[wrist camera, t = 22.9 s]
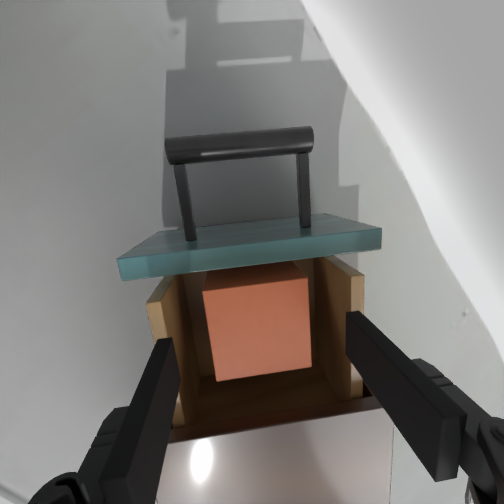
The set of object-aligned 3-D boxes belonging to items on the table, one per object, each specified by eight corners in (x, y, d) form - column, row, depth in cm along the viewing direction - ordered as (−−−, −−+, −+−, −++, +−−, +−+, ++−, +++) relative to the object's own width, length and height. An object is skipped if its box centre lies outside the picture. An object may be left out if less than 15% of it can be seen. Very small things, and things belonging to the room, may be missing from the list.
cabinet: (175, 343, 24) (141, 447, 14) (330, 321, 25) (395, 404, 15) (199, 464, 27) (184, 610, 18) (333, 440, 28) (386, 567, 19)
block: (208, 260, 20) (202, 291, 14) (284, 251, 20) (308, 277, 14) (218, 329, 21) (216, 382, 16) (289, 319, 22) (312, 367, 16)
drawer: (142, 154, 19) (85, 132, 11) (324, 138, 20) (386, 107, 12) (185, 377, 24) (166, 468, 16) (329, 355, 24) (375, 431, 17)
